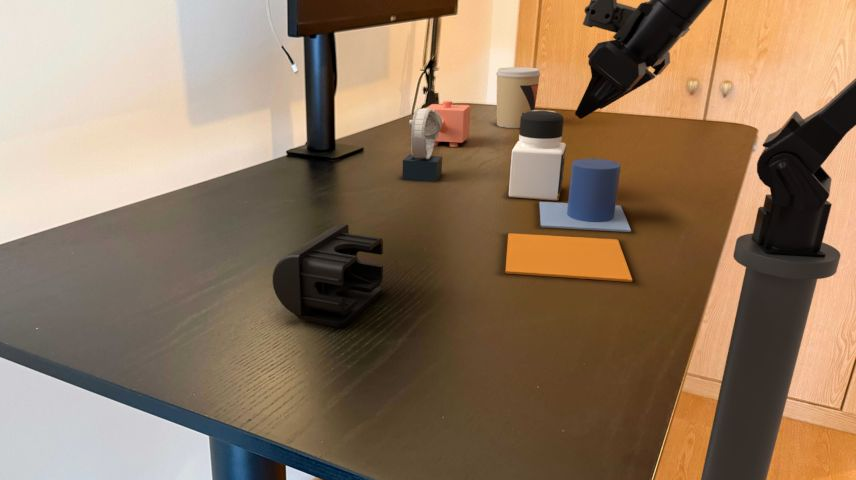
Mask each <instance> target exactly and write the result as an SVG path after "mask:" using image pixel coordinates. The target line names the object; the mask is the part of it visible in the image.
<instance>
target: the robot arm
mask: <svg viewBox="0 0 856 480" xmlns="http://www.w3.org/2000/svg"><path fill="white" fill-rule="evenodd" d="M711 2H713V0H649V1H644V2H641V3H640V4H639V5H637V7H633V6H630V5H626V4H623V3H620V2H617V0H590V1H589V4H588V5H587V6H585V8H584V14H585V16H584V19H583V22H582V25H583V26H584V27H588V28H593V27H594V28H598V29H601V30H604V31H608V32H612V33H615V34H614V35H613V36H612V38H613V39H612V40H605V41H601V42H597V43H596V44H595V46H594V48H593V49H592V50H591V51H590V53H589V54H588V55H587V58H588V60H587V61H588V62H587V63H588V66H589V67H590V74H591V77H590V80H589V82H588V84H587V86H586V89H585V91H584V93H583V95H582V97H581V99H580V101H579V103H578V106H577V108H576V110H575V112H574V115H575V116H576V117H577V118H578V119H580V120H582V119H584V118H586V117H587V116H589V115H591V114H593V113H594V112H595V111H597V110H599V109H600V110H603V109H604V108H606V107H608V106H609V105H611V104H613V103H614V102H616V101H618V100H620V99H621V98H623V97H625V96H626V95H628V94H630V93H631V92H633V91H635V90H637V89H638V88H640V87H642V86H644V85H645V84H647V83H649V82H650V81H652V80H655V78H656V77H657V76H659V75H661V74H662V73H663V72H664V70H665V69H666V68H667V67H668V66H669V65H670V64H671V52H669V51H670V50H671V49H673V48H674V45H676V43H677V42H678V41H679V40H680V39H681V38H682V37H685V36H686V35H687V33H689V32H690V30H691V28H690V27H691V26H692V25H693V23H694V22H695V21H696V20H697V19H698V18H699V16H700V15H701V14H702V13H703V12H704V11H705V10H706V8H707V7H708V6H709V5H710V4H711ZM650 67H651V68H652V69H653V70H654V71H653V72H652V71H650ZM855 127H856V77H855V78H854V79H853V80H852V81H851V82H850V83H848V84H847V85H846V86H844V88H843V89H842V90H840V91H839V92H838V93H837V94H836V95H835V96H833V98H832V99H830V100H829V101H828V102H827V103H826V104H825V105H824V106H822V107H821V108H819V109H818V110H816V111H815V112H813V113H812V114H810V115H808V116H806V117H805V118H803V117H802V116H801V114H800V113H799V112H798V111H794V112H792V114H791V115H790V116H789V118H788V119H787V120H786V122H785V123H784V124H783V125H782V126H781V127H780V128H779V129H777V130H776V131H774V132H771V133H769V134H768V135H767V137H766V138H765V139H764V141H763V143H762V147H764V149H763V151H762V152H761V154H760V156H759V157H758V159H757V162H756V173H757V176H758V179H759V180H760V181H761V182H762V183H763V185H765V186H766V187H768V188H769V191H770V194H765V197H764V202H763V206H759V207H758V208H757V211H756V212H757V213H756V218H755V222H754V226H753V231H752V233H753V235H752V239H753V240H754V241H755V242H756V243H757V245H758V246H759V247H760V248H761V249H762V250H763V251H764V253H766V254H771V255H788V256H805V257H822V258H824V257H825V256H826V253H825V252H824V251H823V250H822V249H821V245H822V242H823V240H824V237H825V233H826V229H827V225H828V220H829V217H830V213H831V210H832V209H831V208H832V205H833V203H831V202H830V201H828V199H829V198H830V193H831V187H832V177H831V176H830V175H829V174H828V173H827V172H826V170H825V169H824V168H823V167H822V165H823V164H824V163H825V161H826V160H827V159H828V158H829V156H830V155H831V154H832V153H833V152H834V150H835V149H836V147H838V145H839V144H840V142H841V141H842V140H843V138H844V137H845V136H846V135H847V134H848V133H849V132H850V131H851V130H852V129H853V128H855Z"/></svg>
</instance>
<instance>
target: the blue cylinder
mask: <svg viewBox="0 0 856 480" xmlns="http://www.w3.org/2000/svg"><path fill="white" fill-rule="evenodd" d="M570 172H571V173H570V182H569V189H568V190H569V191H568V199H567V200H568V201H567V203H568V209H567V215H568V216H569V217H571V218H573V219H576V220H581V221H587V222H604V221H609V220H612V219H613V218H614V213H615V206H616V205H617V197H618V190H619V189H618V188H619V183H620V174H621V163H619V162H617V161H614V160H610V159H604V158H603V159H602V158H579V159H576V160H573V161H572V163H571V171H570Z"/></svg>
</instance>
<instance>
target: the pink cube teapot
mask: <svg viewBox="0 0 856 480" xmlns="http://www.w3.org/2000/svg"><path fill="white" fill-rule="evenodd" d="M425 108H428V109H432V110H435V111H436V112H437V113H439V114H440V116H441V118H442V126H441V128H440V131H439V134H438V137H437V139H435V143H434V147H437V146H438V145H439V143H441V142H445V143H448V144H449V147H451V148H456V147H457V148H458V147H459V144H462V143H464V142H465V141H466V139H468V138H469V137H470V121H471V120H470V119H471V105H468V104H453V101H452V100H442V104H441V103H431V104H430V105H428V106H427V107H425Z"/></svg>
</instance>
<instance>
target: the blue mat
mask: <svg viewBox="0 0 856 480" xmlns="http://www.w3.org/2000/svg"><path fill="white" fill-rule="evenodd" d="M538 204H539V205H538V206H539V221H540V228H543V229H547V228H548V229H562V230H563V229H564V230H565V229H566V230H581V231H583V230H584V231H600V232H616V233H617V232H618V233H620V232H621V233H632V229H631V226H630V224H629V222H628V220H627V217H626V215H625V213H624V210H623V208H622V205H618V204H616V206H615V213H614V218H613V219H612V220H609V221H604V222H587V221H581V220H576V219H573V218H571V217H569V216H568V215H567V209H568V202H556V201H555V202H554V201H553V202H551V201H539V203H538Z"/></svg>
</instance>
